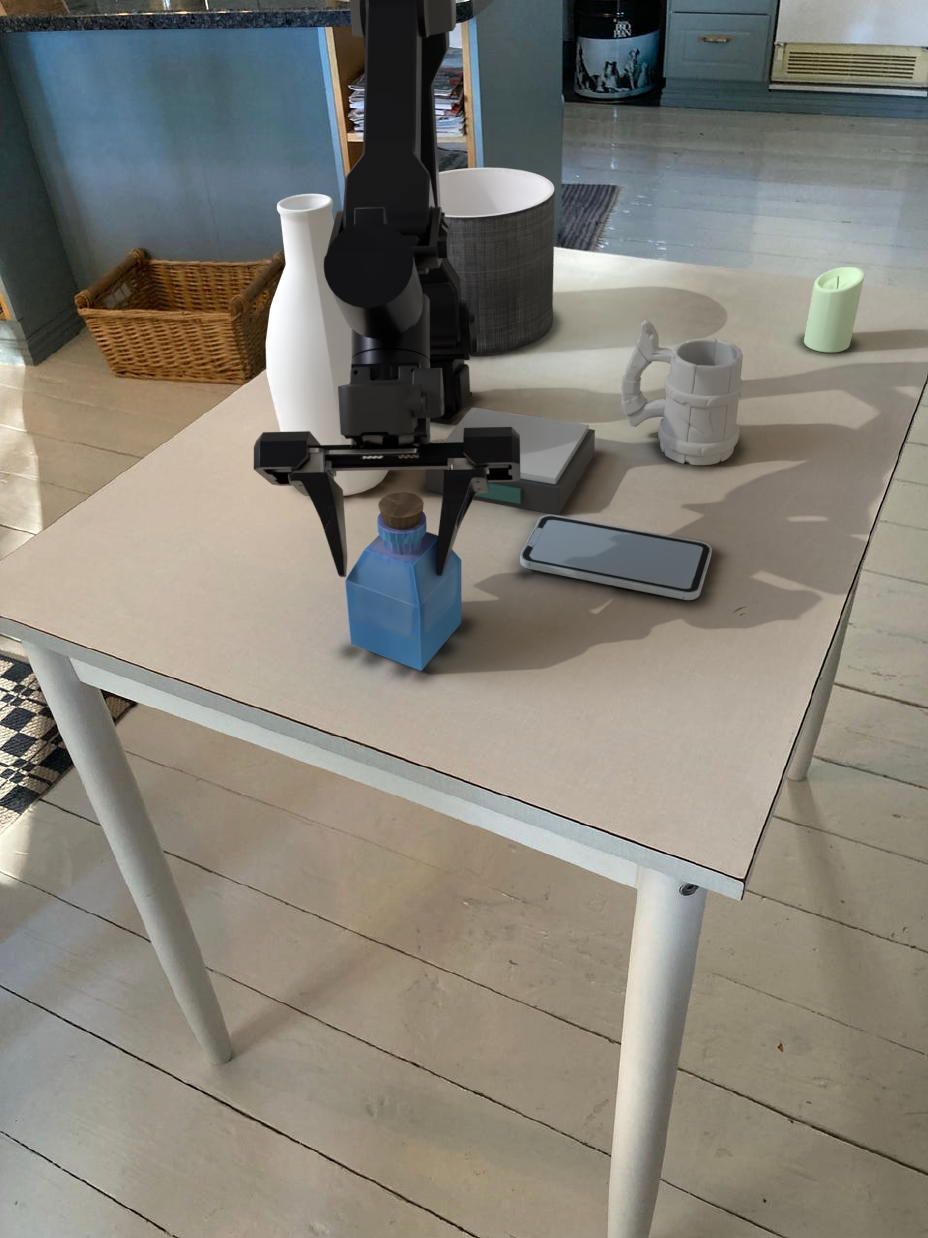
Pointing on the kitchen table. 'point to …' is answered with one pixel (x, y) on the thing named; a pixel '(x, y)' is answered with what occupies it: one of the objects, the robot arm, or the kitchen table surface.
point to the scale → (531, 459)
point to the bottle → (310, 336)
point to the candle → (833, 309)
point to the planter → (502, 252)
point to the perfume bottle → (403, 587)
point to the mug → (688, 396)
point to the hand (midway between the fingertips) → (390, 576)
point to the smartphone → (617, 556)
